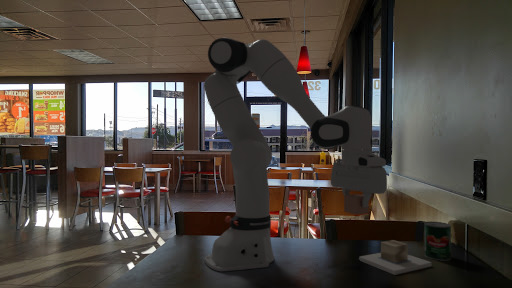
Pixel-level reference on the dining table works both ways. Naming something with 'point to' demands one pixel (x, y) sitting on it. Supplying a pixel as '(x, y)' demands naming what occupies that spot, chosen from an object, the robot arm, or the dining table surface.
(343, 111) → the robot arm
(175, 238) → the dining table surface
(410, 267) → the white flat square slab
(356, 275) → the dining table surface
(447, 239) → the canned tomato
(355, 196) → the terracotta block
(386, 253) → the birch block
